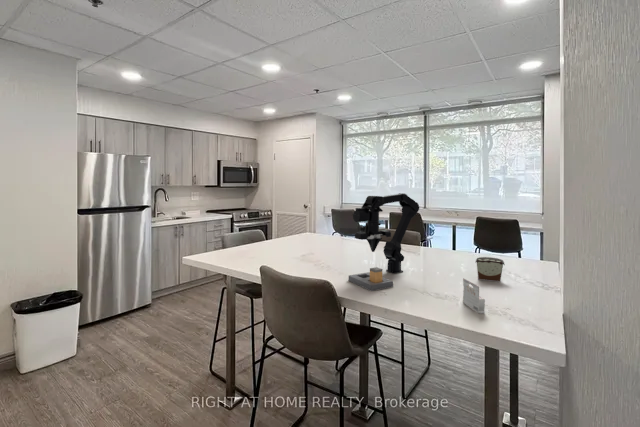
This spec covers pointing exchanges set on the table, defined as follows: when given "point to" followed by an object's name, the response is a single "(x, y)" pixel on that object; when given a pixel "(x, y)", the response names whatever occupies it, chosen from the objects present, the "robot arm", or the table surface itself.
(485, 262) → the food container
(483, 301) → the ink cartridge box
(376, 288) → the socket plate
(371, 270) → the plug
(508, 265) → the table surface
